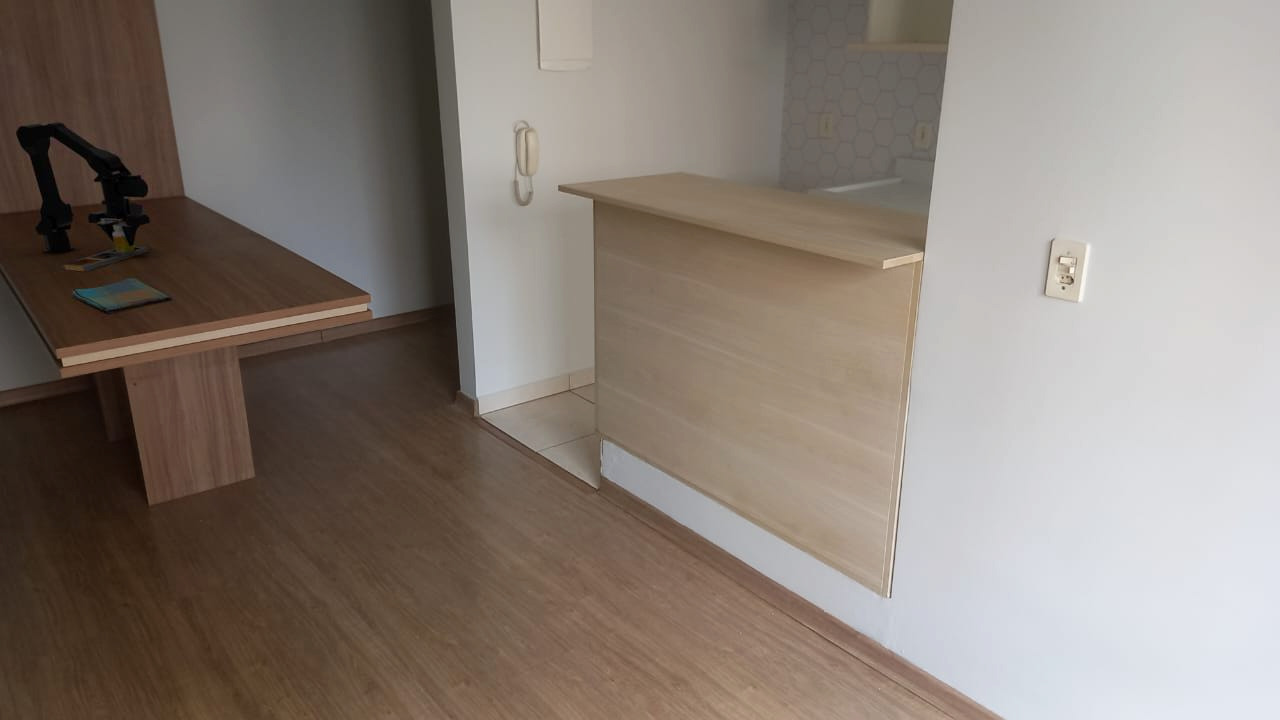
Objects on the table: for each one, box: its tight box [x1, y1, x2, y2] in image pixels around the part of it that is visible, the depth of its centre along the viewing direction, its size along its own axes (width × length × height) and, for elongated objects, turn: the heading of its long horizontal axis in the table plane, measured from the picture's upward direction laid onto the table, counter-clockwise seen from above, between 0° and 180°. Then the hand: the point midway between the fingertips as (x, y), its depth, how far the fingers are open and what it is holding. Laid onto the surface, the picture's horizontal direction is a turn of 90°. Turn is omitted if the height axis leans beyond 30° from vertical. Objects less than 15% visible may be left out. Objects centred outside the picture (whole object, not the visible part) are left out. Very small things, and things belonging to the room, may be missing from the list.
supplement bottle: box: [112, 222, 136, 253], centre depth 286 cm, size 5×5×10 cm
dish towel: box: [71, 278, 173, 314], centre depth 245 cm, size 17×23×2 cm
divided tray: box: [61, 246, 149, 273], centre depth 281 cm, size 9×24×2 cm, turn 164°
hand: (124, 245), depth 287 cm, fingers closed on supplement bottle, 5 cm apart
